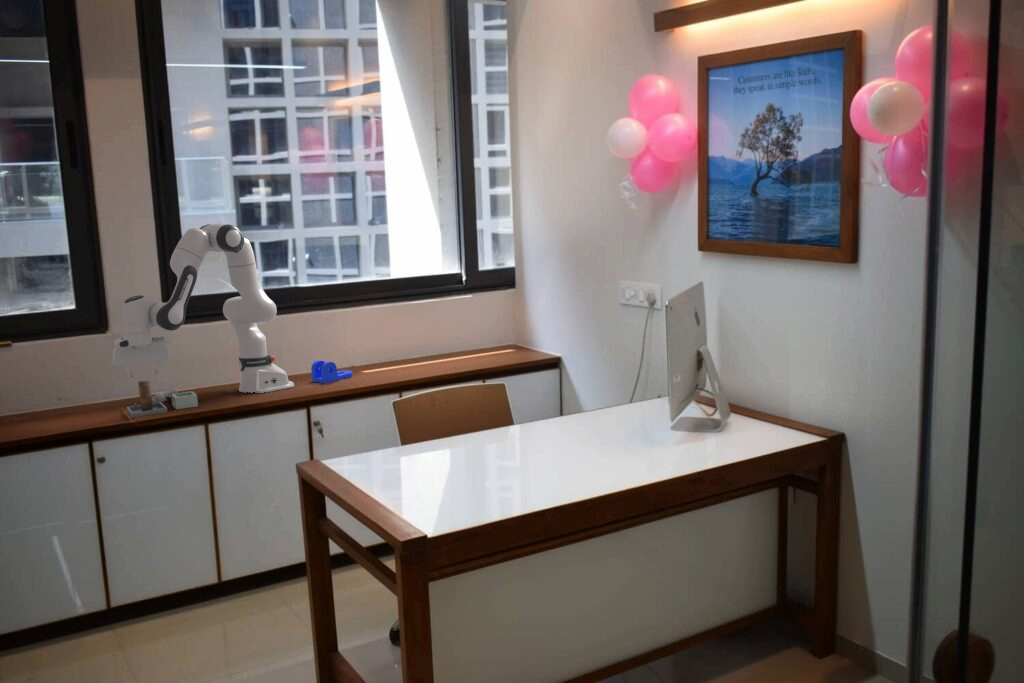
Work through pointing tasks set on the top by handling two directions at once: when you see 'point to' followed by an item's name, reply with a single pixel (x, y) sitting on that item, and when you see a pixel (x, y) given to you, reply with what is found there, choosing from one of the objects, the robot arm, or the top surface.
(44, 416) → the top surface
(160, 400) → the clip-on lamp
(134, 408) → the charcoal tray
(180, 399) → the sage pot
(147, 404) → the walnut dowel
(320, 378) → the bracket
